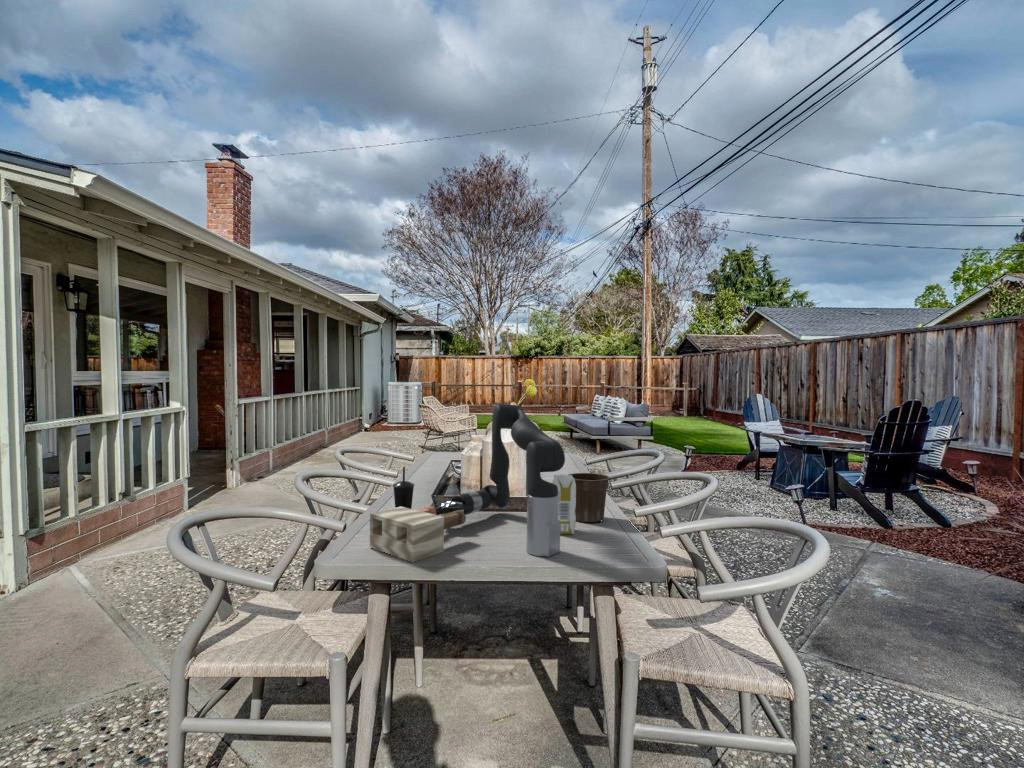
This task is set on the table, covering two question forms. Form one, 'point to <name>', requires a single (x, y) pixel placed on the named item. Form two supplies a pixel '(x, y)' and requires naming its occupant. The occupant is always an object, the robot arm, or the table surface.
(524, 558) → the table surface
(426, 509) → the terracotta plug
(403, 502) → the drinking cup
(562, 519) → the juice carton
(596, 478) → the plant pot
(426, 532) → the socket block
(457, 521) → the walnut plug
